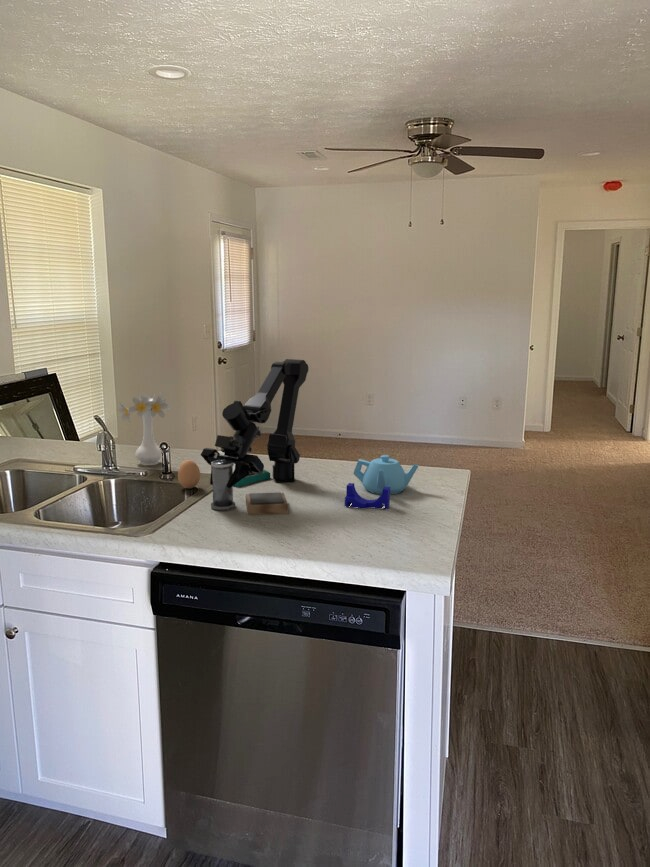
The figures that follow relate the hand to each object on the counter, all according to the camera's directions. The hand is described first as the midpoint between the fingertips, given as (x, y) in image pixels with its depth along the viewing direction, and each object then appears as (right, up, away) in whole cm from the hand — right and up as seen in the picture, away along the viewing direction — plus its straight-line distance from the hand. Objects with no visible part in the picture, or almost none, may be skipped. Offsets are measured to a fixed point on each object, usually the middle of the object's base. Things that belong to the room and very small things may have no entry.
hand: (219, 485), depth 186 cm
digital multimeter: (+4, -1, +30) cm, 30 cm away
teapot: (+48, -3, +22) cm, 53 cm away
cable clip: (+41, -7, +5) cm, 42 cm away
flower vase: (-32, +4, +48) cm, 58 cm away
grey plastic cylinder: (+1, -6, +3) cm, 7 cm away
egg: (-13, -2, +20) cm, 24 cm away
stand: (+13, -6, +3) cm, 15 cm away
